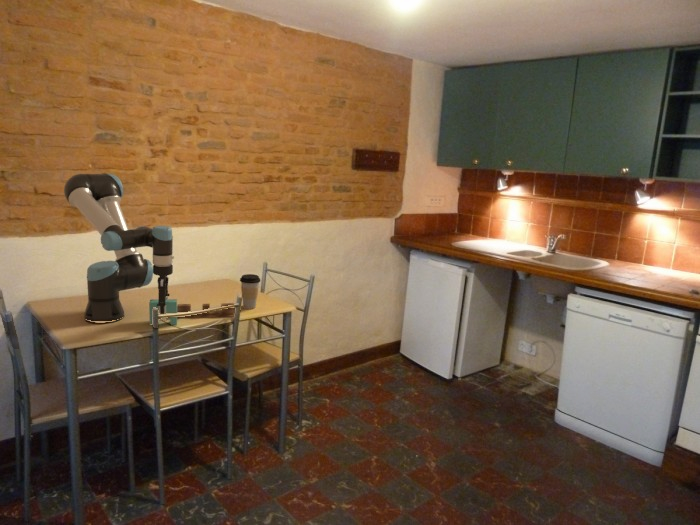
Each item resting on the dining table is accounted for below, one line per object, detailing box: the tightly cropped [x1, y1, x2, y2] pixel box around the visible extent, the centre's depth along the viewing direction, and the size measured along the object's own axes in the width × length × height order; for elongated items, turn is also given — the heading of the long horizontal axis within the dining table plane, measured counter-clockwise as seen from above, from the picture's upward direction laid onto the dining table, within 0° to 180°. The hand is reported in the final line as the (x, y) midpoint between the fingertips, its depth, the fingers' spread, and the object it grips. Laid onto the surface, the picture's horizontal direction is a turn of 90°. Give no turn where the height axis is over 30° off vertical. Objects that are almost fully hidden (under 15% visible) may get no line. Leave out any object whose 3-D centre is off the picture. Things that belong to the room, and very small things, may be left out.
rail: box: [177, 302, 235, 319], centre depth 225 cm, size 24×6×5 cm, turn 106°
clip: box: [148, 298, 178, 326], centre depth 211 cm, size 10×4×10 cm, turn 106°
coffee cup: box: [239, 273, 261, 310], centre depth 239 cm, size 9×9×15 cm
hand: (163, 316), depth 212 cm, fingers open, 10 cm apart
